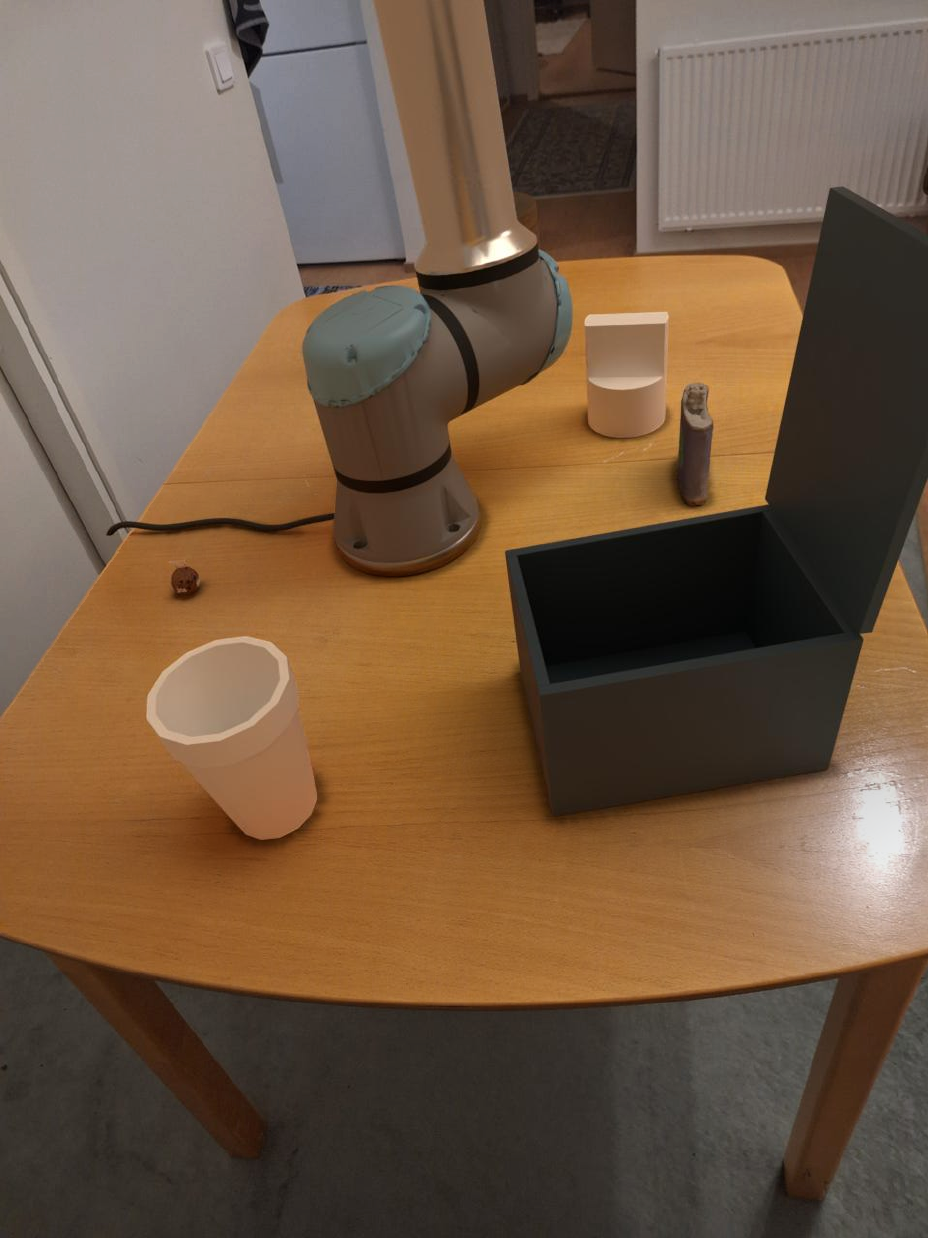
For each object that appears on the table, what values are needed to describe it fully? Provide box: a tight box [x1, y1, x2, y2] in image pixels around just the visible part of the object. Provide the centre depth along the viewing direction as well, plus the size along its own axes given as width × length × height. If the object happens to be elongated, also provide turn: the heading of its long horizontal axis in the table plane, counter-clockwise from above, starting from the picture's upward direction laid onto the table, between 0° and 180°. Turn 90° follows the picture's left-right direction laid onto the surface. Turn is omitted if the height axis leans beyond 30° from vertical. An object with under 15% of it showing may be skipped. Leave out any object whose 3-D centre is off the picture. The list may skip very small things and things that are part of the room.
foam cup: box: [145, 635, 318, 841], centre depth 57 cm, size 10×9×13 cm
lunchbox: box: [504, 503, 864, 817], centre depth 58 cm, size 20×15×13 cm
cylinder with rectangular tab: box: [584, 311, 670, 439], centre depth 91 cm, size 9×9×12 cm
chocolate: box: [168, 558, 201, 595], centre depth 81 cm, size 3×2×4 cm
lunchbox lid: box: [764, 186, 928, 635], centre depth 46 cm, size 21×15×6 cm
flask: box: [675, 382, 714, 507], centre depth 81 cm, size 9×3×11 cm, turn 172°
